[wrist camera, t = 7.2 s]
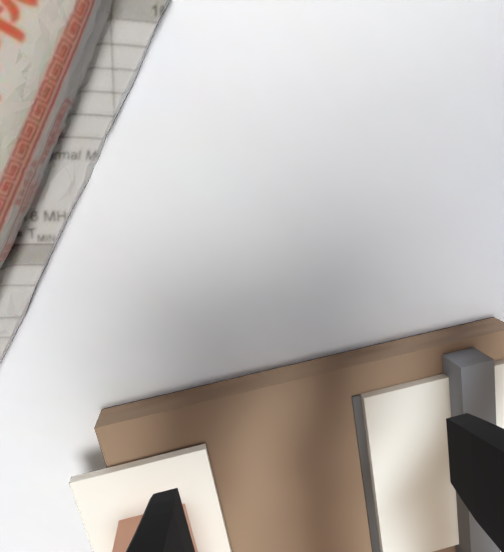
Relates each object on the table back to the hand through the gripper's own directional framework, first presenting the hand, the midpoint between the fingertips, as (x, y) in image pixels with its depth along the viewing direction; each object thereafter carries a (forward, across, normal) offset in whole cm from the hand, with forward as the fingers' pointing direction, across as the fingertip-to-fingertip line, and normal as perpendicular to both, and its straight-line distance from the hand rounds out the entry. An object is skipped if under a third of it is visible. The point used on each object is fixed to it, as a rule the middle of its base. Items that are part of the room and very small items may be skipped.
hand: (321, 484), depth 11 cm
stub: (+8, +7, +8) cm, 13 cm away
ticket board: (+9, -2, +8) cm, 13 cm away
